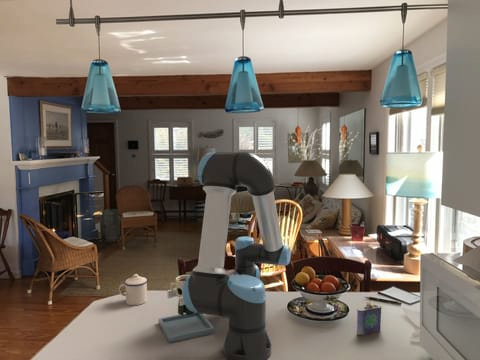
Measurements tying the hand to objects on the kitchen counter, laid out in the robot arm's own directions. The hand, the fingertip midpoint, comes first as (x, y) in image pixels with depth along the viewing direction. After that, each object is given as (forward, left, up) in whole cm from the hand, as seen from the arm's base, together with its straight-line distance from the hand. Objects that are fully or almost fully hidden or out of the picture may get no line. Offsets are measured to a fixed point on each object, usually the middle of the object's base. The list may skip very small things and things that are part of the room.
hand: (173, 298), depth 136 cm
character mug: (+1, -5, -7) cm, 9 cm away
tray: (+1, -4, -12) cm, 13 cm away
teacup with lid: (+34, +9, -12) cm, 37 cm away
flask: (-30, -60, -12) cm, 68 cm away
